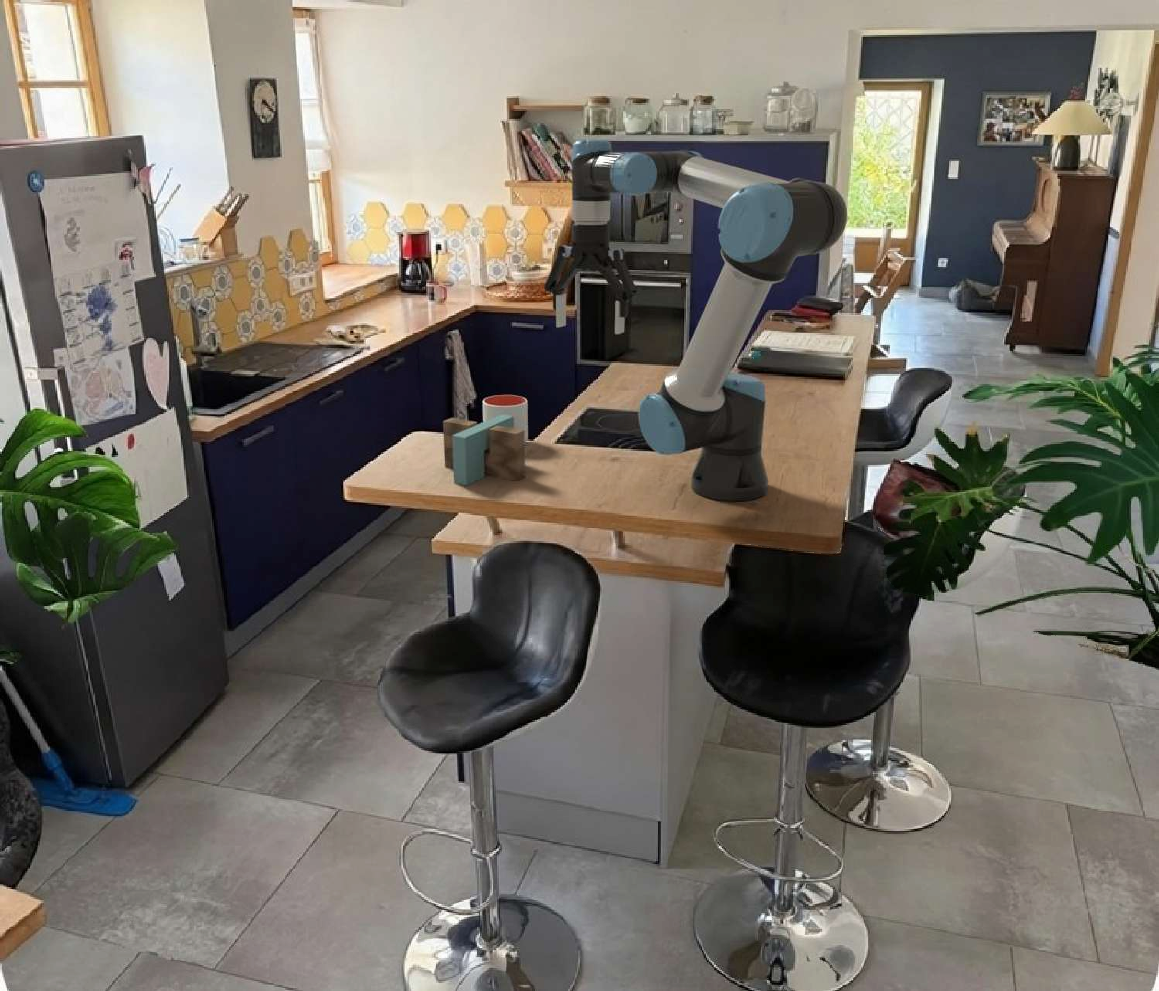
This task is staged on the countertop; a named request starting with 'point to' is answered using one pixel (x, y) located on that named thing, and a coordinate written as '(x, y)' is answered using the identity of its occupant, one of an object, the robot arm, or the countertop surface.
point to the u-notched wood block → (492, 449)
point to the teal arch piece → (474, 449)
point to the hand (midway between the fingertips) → (589, 329)
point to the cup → (508, 410)
